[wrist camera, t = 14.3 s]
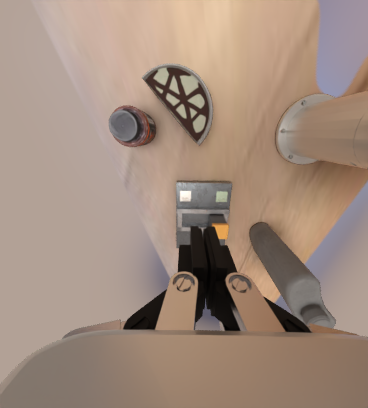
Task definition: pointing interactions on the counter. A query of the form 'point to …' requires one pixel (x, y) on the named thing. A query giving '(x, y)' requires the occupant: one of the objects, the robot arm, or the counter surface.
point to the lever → (219, 225)
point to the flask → (291, 277)
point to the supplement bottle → (131, 126)
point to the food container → (183, 97)
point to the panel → (200, 206)
